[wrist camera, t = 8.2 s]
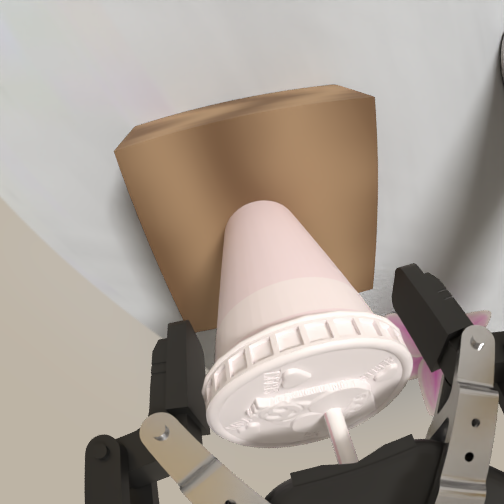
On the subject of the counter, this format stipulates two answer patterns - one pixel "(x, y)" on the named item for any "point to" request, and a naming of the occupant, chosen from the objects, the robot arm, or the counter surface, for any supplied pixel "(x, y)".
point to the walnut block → (255, 183)
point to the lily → (420, 369)
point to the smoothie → (295, 341)
